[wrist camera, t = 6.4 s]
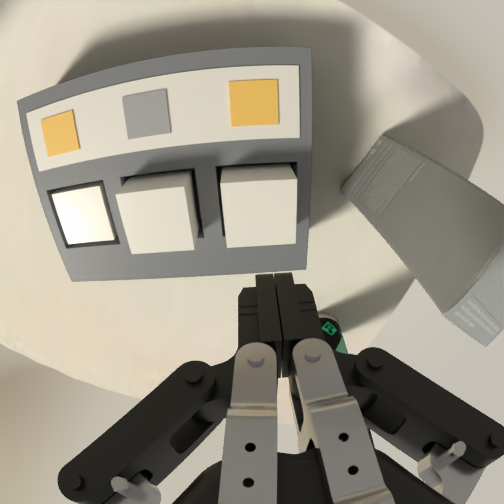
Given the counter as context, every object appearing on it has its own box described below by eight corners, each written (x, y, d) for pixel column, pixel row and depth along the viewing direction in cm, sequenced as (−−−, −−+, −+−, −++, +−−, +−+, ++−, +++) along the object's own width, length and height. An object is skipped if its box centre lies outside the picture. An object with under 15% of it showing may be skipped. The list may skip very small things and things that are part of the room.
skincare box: (336, 187, 25) (425, 326, 12) (386, 124, 22) (527, 213, 9) (396, 233, 28) (479, 359, 15) (440, 180, 25) (551, 283, 12)
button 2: (82, 225, 24) (68, 244, 21) (68, 179, 21) (51, 194, 19) (126, 220, 24) (114, 239, 21) (114, 171, 21) (99, 185, 19)
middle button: (142, 231, 22) (131, 254, 20) (130, 177, 20) (115, 194, 17) (199, 227, 22) (194, 250, 20) (191, 169, 20) (184, 186, 17)
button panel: (91, 249, 27) (71, 283, 23) (51, 91, 19) (15, 101, 14) (295, 236, 28) (306, 271, 23) (295, 51, 19) (311, 47, 14)
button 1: (228, 225, 22) (227, 247, 20) (222, 167, 20) (220, 183, 17) (288, 221, 22) (295, 243, 20) (289, 163, 20) (297, 179, 17)
